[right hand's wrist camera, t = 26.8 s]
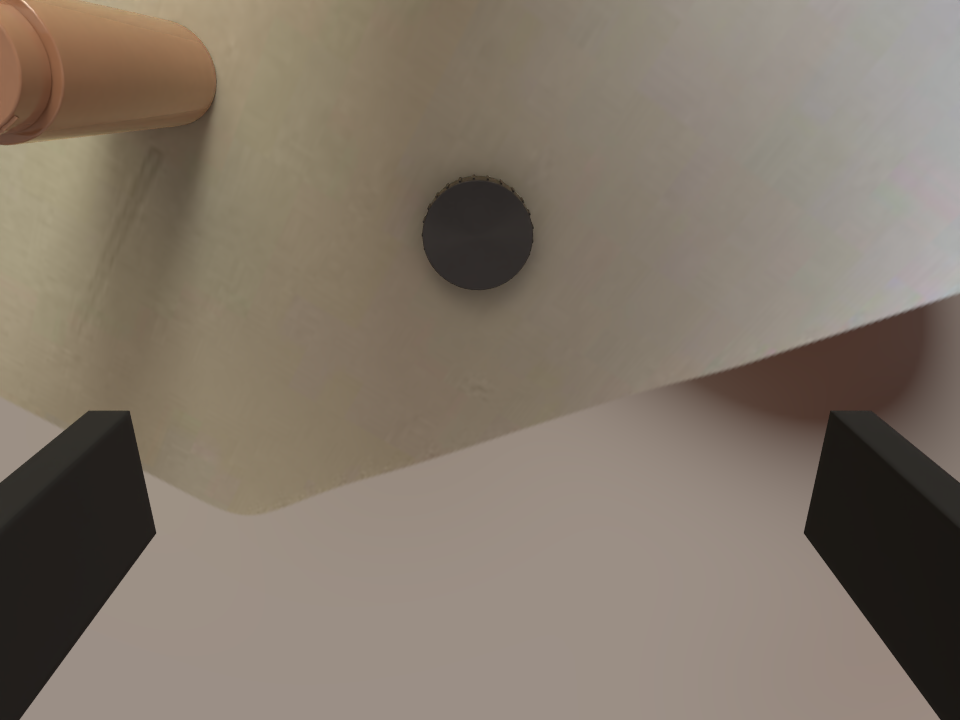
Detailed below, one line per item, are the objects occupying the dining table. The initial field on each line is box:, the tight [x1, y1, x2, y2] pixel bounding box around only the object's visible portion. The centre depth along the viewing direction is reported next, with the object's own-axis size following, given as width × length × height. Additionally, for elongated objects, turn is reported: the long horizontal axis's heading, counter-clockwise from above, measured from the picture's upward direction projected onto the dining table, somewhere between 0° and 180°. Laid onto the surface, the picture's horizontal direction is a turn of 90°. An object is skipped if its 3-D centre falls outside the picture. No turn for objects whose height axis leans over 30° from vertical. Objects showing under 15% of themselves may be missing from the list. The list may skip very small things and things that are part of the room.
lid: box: [422, 175, 534, 290], centre depth 36 cm, size 6×6×2 cm
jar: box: [0, 0, 216, 145], centre depth 27 cm, size 5×5×15 cm
